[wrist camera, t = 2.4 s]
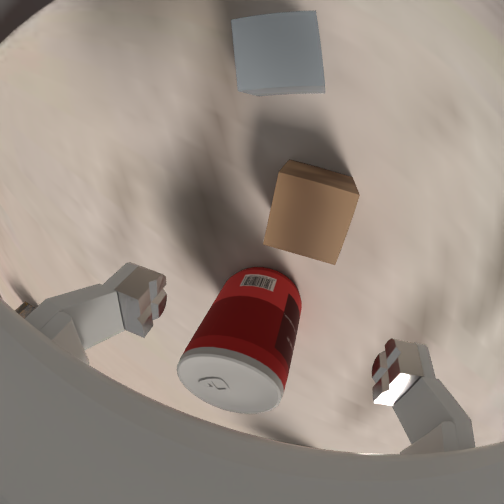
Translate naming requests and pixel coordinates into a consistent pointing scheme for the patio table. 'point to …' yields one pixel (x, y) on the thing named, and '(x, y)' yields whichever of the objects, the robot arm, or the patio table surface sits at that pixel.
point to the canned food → (244, 343)
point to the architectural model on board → (25, 310)
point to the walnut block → (311, 211)
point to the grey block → (278, 54)
